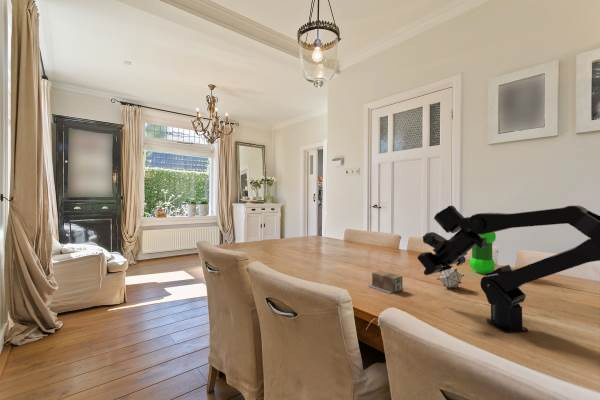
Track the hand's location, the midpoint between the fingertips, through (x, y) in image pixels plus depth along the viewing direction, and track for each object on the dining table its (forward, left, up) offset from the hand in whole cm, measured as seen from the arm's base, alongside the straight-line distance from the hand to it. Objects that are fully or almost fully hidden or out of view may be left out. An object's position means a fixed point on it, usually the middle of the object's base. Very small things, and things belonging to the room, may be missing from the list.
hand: (425, 273), depth 91 cm
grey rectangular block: (+9, +5, -6) cm, 12 cm away
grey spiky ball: (+11, -16, -9) cm, 21 cm away
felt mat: (+14, +8, -9) cm, 18 cm away
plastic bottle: (+29, -43, -9) cm, 52 cm away
